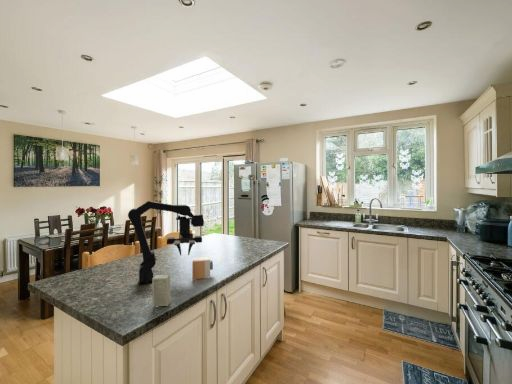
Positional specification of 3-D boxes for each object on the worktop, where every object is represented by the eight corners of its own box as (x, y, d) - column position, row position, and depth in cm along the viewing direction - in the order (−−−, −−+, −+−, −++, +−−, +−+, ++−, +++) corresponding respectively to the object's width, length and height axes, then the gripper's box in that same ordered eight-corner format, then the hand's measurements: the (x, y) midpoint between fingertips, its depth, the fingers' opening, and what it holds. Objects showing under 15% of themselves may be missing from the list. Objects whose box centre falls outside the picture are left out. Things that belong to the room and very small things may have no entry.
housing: (193, 279, 133) (193, 261, 133) (192, 275, 139) (192, 258, 139) (212, 277, 136) (212, 259, 136) (211, 273, 142) (211, 256, 142)
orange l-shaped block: (192, 281, 129) (192, 263, 129) (192, 278, 133) (192, 261, 132) (205, 280, 131) (205, 262, 131) (204, 277, 134) (204, 260, 134)
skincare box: (170, 302, 106) (170, 274, 106) (167, 307, 102) (167, 278, 102) (156, 302, 106) (155, 274, 106) (152, 307, 102) (151, 278, 101)
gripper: (166, 230, 127) (166, 260, 127) (202, 229, 132) (202, 257, 132) (167, 227, 138) (167, 255, 138) (201, 226, 143) (201, 252, 143)
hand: (184, 255), depth 137 cm, fingers open, 4 cm apart
